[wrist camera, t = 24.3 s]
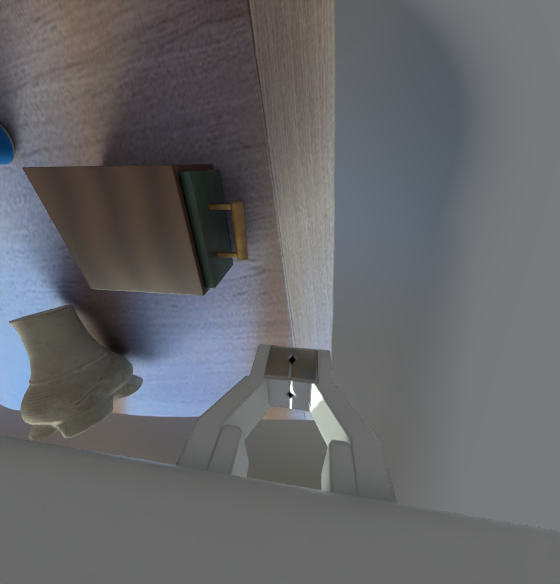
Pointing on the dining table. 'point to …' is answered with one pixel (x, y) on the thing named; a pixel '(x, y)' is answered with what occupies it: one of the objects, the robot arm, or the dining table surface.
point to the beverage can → (6, 147)
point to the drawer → (213, 224)
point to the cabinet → (124, 225)
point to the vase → (69, 374)
